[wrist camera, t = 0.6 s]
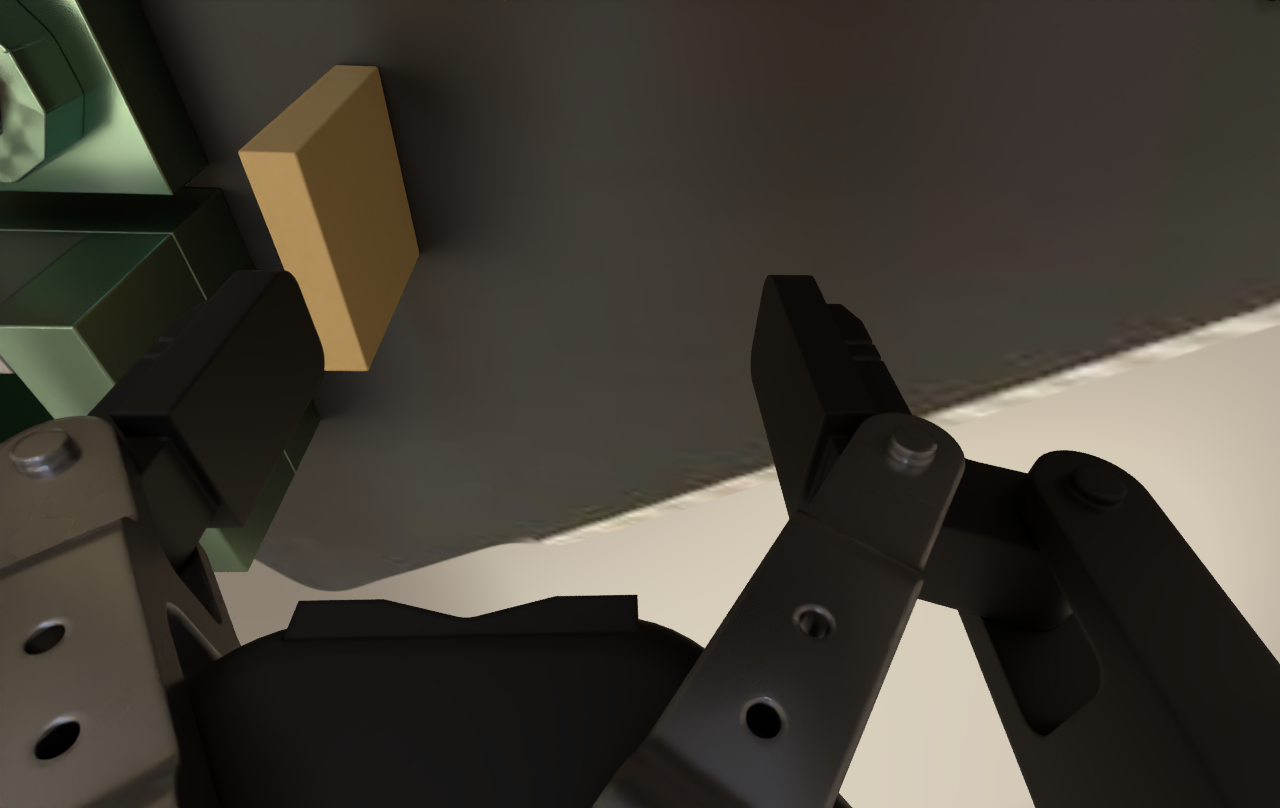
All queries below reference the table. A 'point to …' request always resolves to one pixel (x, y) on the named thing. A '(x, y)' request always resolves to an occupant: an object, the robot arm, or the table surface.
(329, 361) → the toast
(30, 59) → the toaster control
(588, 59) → the table surface
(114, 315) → the toaster
